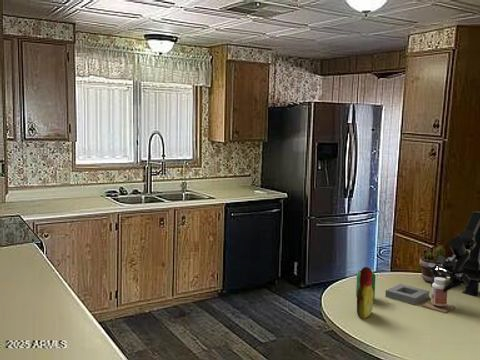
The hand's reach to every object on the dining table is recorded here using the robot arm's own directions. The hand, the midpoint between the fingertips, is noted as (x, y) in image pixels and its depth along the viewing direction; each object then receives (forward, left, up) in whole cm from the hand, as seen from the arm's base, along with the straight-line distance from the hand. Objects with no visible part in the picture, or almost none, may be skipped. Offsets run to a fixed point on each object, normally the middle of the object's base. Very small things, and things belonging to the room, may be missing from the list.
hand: (437, 289), depth 208 cm
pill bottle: (-1, 0, -7) cm, 7 cm away
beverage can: (+13, -27, -8) cm, 31 cm away
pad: (-1, 0, -8) cm, 8 cm away
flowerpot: (-36, -17, -8) cm, 41 cm away
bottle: (+31, -17, -8) cm, 36 cm away
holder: (-3, -15, -8) cm, 17 cm away
